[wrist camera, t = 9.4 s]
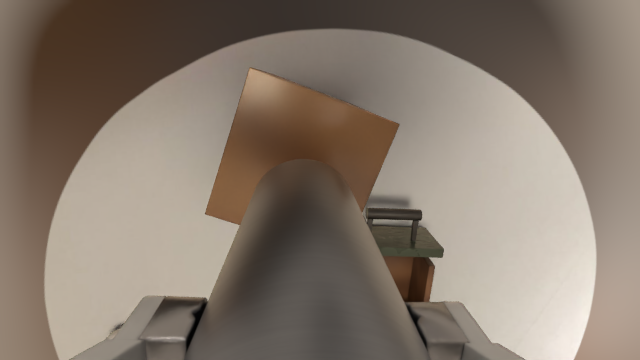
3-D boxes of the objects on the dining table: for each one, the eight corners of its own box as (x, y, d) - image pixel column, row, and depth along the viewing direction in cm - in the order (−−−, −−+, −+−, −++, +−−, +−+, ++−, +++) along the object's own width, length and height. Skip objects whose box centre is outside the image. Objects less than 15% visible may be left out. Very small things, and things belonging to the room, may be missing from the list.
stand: (273, 74, 44) (249, 67, 23) (353, 104, 46) (399, 124, 24) (247, 154, 47) (204, 214, 25) (324, 180, 48) (343, 257, 27)
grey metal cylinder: (270, 143, 17) (176, 338, 4) (369, 178, 17) (553, 435, 5) (238, 238, 18) (89, 613, 5) (332, 267, 19) (401, 655, 6)
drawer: (342, 196, 48) (349, 214, 42) (429, 199, 49) (449, 218, 42) (333, 312, 53) (337, 344, 47) (412, 313, 54) (427, 345, 47)
